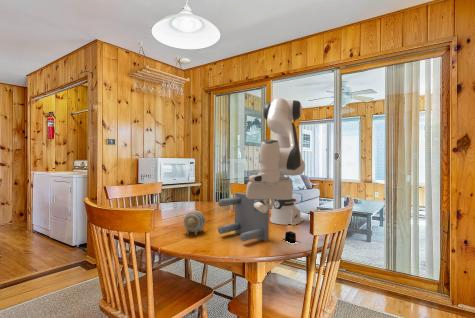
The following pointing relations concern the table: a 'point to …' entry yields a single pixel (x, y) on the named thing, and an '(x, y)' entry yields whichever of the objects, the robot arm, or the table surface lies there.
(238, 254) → the table surface
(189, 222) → the toy sheep
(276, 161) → the robot arm
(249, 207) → the stool
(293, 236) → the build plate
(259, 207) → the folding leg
